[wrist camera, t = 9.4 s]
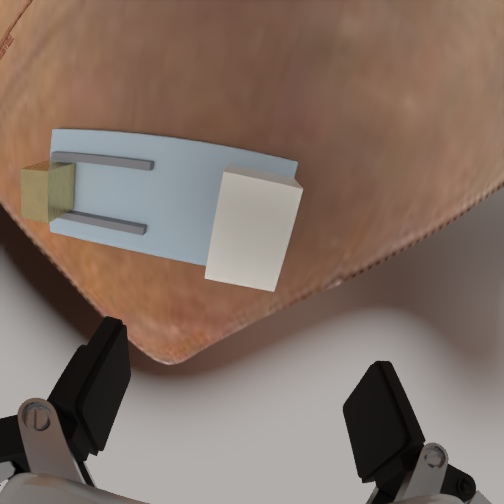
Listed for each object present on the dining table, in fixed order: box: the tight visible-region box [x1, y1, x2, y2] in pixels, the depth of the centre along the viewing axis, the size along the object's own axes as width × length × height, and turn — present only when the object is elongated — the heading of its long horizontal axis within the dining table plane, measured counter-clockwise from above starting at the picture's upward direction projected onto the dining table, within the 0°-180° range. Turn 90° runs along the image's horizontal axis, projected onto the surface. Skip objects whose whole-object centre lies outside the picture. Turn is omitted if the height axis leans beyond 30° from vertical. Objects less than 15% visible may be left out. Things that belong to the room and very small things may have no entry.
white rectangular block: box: [205, 164, 303, 292], centre depth 24 cm, size 9×6×5 cm, turn 168°
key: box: [0, 0, 32, 60], centre depth 16 cm, size 6×1×15 cm
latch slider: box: [21, 161, 75, 223], centre depth 23 cm, size 5×4×5 cm
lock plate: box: [50, 128, 298, 266], centre depth 26 cm, size 12×26×2 cm, turn 78°
